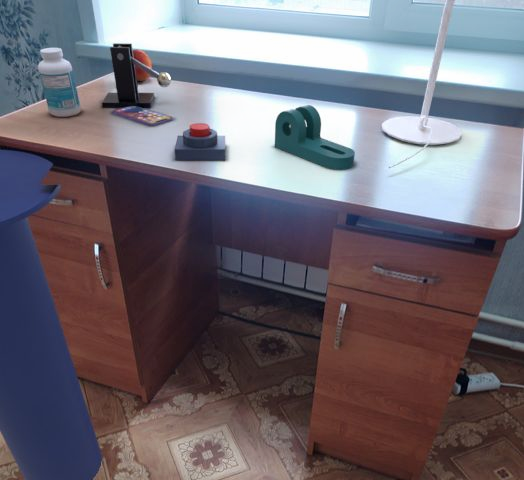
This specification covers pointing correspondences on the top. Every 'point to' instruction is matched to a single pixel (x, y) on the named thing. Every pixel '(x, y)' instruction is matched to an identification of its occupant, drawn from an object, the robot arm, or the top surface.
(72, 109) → the pill bottle
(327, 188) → the top surface
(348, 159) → the bracket
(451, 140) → the desk lamp
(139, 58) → the fruit
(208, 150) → the button box
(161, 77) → the lever
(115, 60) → the bracket
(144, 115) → the smartphone
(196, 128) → the button
